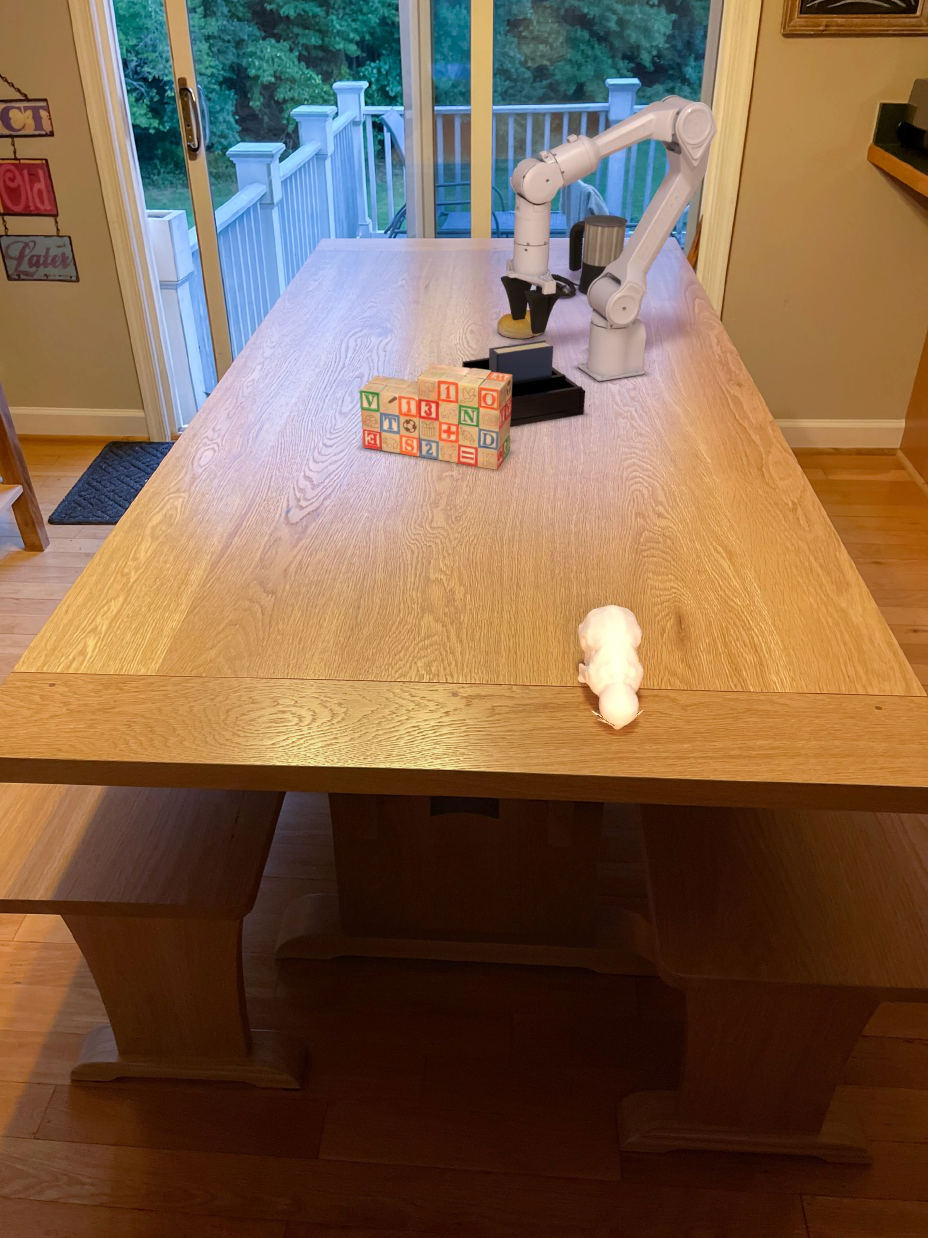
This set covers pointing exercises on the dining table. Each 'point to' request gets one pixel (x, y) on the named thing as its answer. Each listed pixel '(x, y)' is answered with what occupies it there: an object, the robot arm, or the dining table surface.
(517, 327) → the bread roll
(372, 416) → the stack of blocks
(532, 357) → the book
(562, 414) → the rack
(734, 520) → the dining table surface
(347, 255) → the dining table surface
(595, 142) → the robot arm
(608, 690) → the white animal figurine
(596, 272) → the milk frother
